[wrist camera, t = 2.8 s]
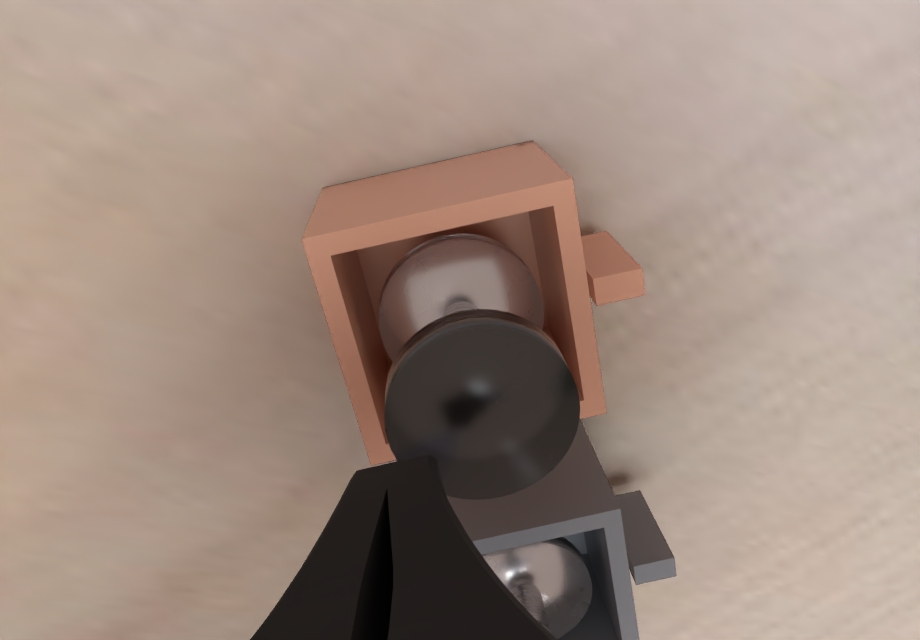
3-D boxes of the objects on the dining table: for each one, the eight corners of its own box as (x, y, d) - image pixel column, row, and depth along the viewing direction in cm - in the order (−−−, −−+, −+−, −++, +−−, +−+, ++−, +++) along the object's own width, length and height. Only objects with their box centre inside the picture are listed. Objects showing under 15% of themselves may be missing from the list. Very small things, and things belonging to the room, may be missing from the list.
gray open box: (639, 544, 26) (691, 657, 22) (438, 589, 26) (446, 711, 22) (620, 403, 24) (673, 497, 19) (398, 452, 24) (399, 557, 19)
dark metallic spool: (550, 363, 19) (603, 483, 14) (400, 397, 19) (401, 527, 14) (525, 216, 17) (574, 295, 12) (361, 253, 17) (347, 346, 12)
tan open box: (609, 321, 23) (663, 400, 18) (376, 373, 23) (371, 465, 18) (583, 129, 20) (638, 163, 16) (322, 187, 20) (301, 239, 16)
